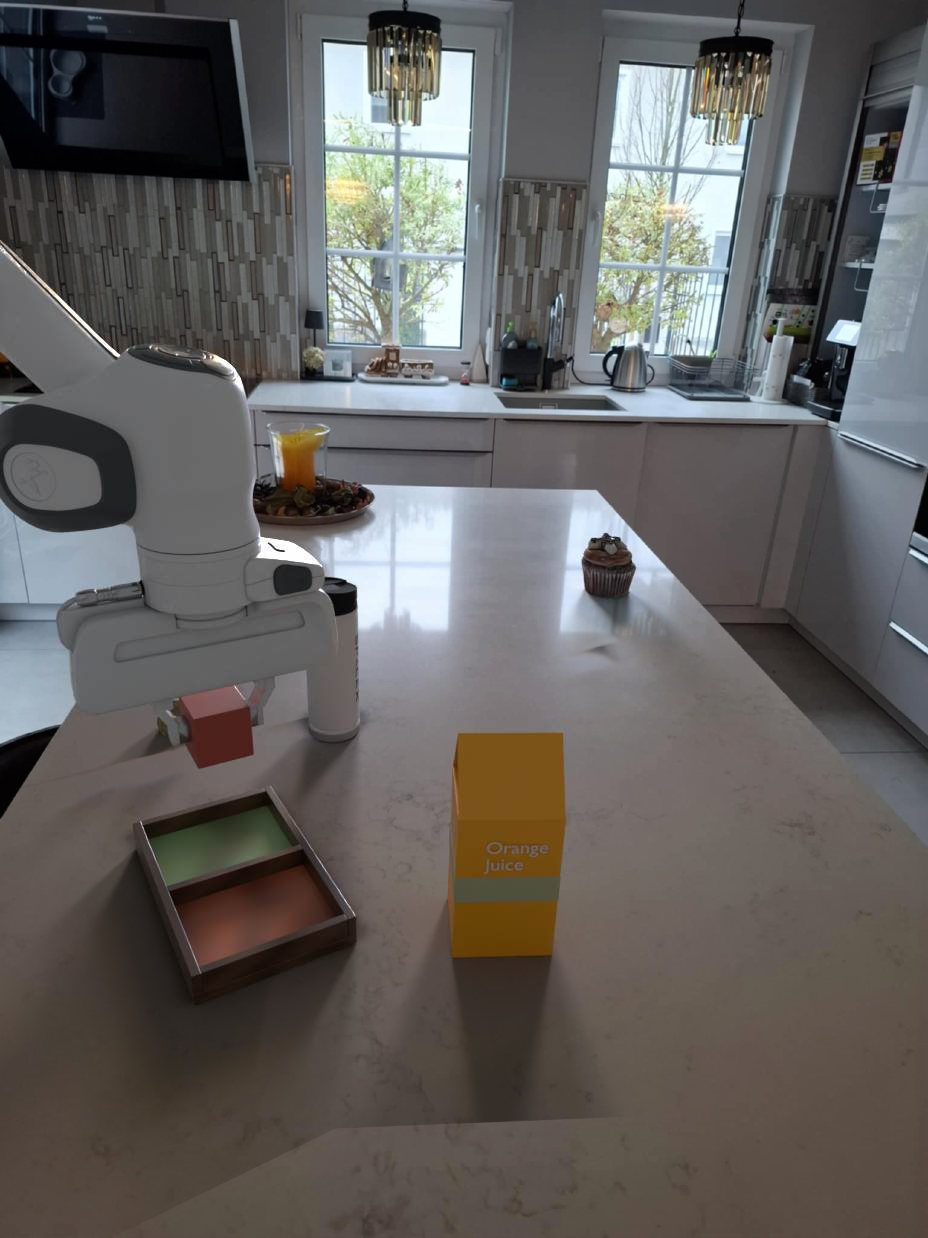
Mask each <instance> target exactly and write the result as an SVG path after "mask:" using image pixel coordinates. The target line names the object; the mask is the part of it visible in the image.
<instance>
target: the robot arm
mask: <svg viewBox="0 0 928 1238" xmlns="http://www.w3.org/2000/svg"><path fill="white" fill-rule="evenodd" d="M0 353H1V354H2V355H3V356H4V357H5V358H6V359H7V360H8V361H9V362H10V363H11V364H13V365H14V367H16V368H17V369H18V370H19V371H20V372H21V373H22V374H23V375H25V377H27V379H28V380H30V382H32V383H33V384H34V385H35V386H36V387H37V388H38V389H39V390H40V391H41V392H43V393H42V394H37V395H36V396H33V397H29V398H26V399H24V400H22V401H20V402H18V403H16V404H15V405H13V406H12V407H11V406H10V407H9V408H7V409H5V410H4V411H3V412H1V413H0V500H1V501H2V503H3V504H4V506H6V508H7V509H8V510H10V512H12V513H13V515H15V516H16V517H18V518H19V519H20V520H22V521H23V522H25V523H26V524H28V525H30V526H32V527H34V528H35V529H39V530H42V531H44V532H49V533H55V534H56V533H59V534H61V533H63V534H64V533H76V532H77V533H78V532H86V531H87V532H88V531H94V530H102V529H107V528H112V527H116V526H119V525H120V526H127V527H129V528H130V529H131V530H132V532H133V534H134V540H135V548H136V556H137V565H138V571H139V577H140V580H138V581H133V582H132V581H131V582H128V583H121V584H116V585H113V586H110V587H109V586H108V587H106V588H105V587H104V588H98V589H97V588H96V589H95V588H88V589H83V590H80V591H77V592H75V594H74V597H71V598H69V599H67V600H66V601H64V602H63V603H62V604H61V605H60V606H59V608H58V610H57V612H56V616H55V622H56V623H55V624H56V628H57V629H56V630H57V634H58V635H57V636H58V639H59V641H60V643H61V645H62V646H63V647H64V648H65V649H67V650H68V663H69V665H68V666H69V678H70V686H71V687H70V688H71V692H72V697H73V699H74V701H75V704H76V706H77V708H79V709H80V710H81V711H83V712H84V713H86V714H87V715H89V716H90V717H91V716H93V717H94V716H95V717H96V716H100V715H104V714H108V713H113V712H118V711H123V710H128V709H133V708H136V707H142V706H145V705H149V704H150V706H151V709H152V710H153V713H154V714H155V715H156V716H157V718H158V717H159V718H160V719H161V720H162V721H163V722H164V723H165V724H166V725H167V727H168V735H167V736H168V738H169V741H170V744H171V745H172V746H173V747H176V746H177V747H178V746H181V745H185V743H189V742H191V741H192V739H191V735H190V733H191V730H190V724H189V722H188V721H187V719H186V717H185V715H181V716H176V717H175V716H174V715H173V714H172V713H171V712H170V711H169V710H172V709H173V699H179V697H183V696H188V695H192V694H197V693H201V692H206V691H210V690H215V689H220V688H224V687H229V686H233V685H235V686H238V685H242V684H247V683H251V682H253V684H254V686H253V689H252V691H251V692H250V695H249V697H248V699H247V700H246V699H245V701H246V702H247V703H248V705H249V706H250V712H251V724H252V728H255V727H258V726H262V725H264V723H265V719H264V708H265V707H266V705H267V703H268V701H269V699H270V697H271V696H272V694H273V692H274V690H275V688H276V679H275V677H279V676H284V675H288V674H293V673H297V672H303V671H306V670H307V669H312V668H316V667H321V666H326V665H329V664H330V663H331V662H332V660H333V659H334V657H335V656H336V654H337V652H338V636H337V626H336V619H335V614H334V609H333V605H332V602H331V600H330V598H329V596H328V595H327V594H326V593H325V592H324V591H323V590H322V589H321V587H322V586H323V584H324V579H325V577H326V575H325V569H324V567H323V566H322V564H321V563H320V562H319V560H317V559H316V557H314V556H313V555H312V554H311V553H309V552H308V551H307V550H305V549H304V548H302V547H301V546H299V545H297V544H296V543H294V542H291V541H287V540H282V539H281V540H280V539H275V538H268V537H263V536H261V528H260V524H259V520H258V518H257V516H256V515H257V514H256V513H255V507H254V502H253V497H254V495H253V494H254V489H255V484H256V479H257V464H256V454H255V453H256V452H255V444H254V434H253V428H252V421H251V414H250V410H249V403H248V398H247V395H246V392H245V388H244V384H243V382H242V379H241V377H240V375H239V373H238V371H237V370H236V369H235V367H233V366H232V365H231V364H230V362H228V361H227V360H225V359H223V358H221V357H220V356H218V355H217V354H215V353H211V352H209V351H206V350H203V349H199V348H195V347H191V346H185V345H180V344H164V343H160V342H159V343H141V344H137V345H133V346H130V347H128V348H127V349H125V350H124V351H123V352H122V353H121V354H120V353H119V352H117V351H116V350H115V349H113V348H112V346H111V345H109V344H108V343H107V342H106V341H105V340H104V339H102V338H101V337H100V336H99V335H98V334H97V333H96V332H95V331H94V330H93V328H91V327H90V326H89V325H88V324H87V323H86V322H85V321H84V320H83V319H82V318H81V317H80V315H79V314H77V313H76V312H75V311H74V309H72V308H71V307H70V305H68V304H67V303H66V302H65V301H64V300H63V299H62V298H61V297H60V296H59V295H58V294H57V293H56V292H55V291H54V290H53V289H52V288H51V287H50V285H48V284H47V283H46V282H45V281H44V280H43V279H42V278H41V277H40V276H39V275H38V274H37V273H36V272H35V271H34V270H33V269H32V268H31V267H30V266H28V265H27V264H26V262H24V261H23V260H22V258H20V257H19V256H18V255H17V254H16V253H15V252H14V251H13V250H12V249H11V248H10V247H9V246H8V245H7V244H6V243H4V242H3V241H2V240H1V239H0ZM75 604H76V605H75Z"/></svg>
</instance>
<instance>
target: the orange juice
mask: <svg viewBox="0 0 928 1238" xmlns="http://www.w3.org/2000/svg"><path fill="white" fill-rule="evenodd" d="M564 752H565V751H564V732H458V733H457V738H456V744H455V751H454V757H453V762H452V763H453V764H452V765H451V766H452V769H451V770H452V771H451V797H450V819H449V820H450V821H449V832H448V833H449V836H448V872H447V873H448V874H447V876H448V877H447V909H448V921H449V922H448V923H449V935H450V947H451V949H450V950H451V958H489V957H491V958H493V957H495V958H496V957H529V956H530V957H534V956H535V957H536V956H537V957H538V956H553V951H554V941H555V932H556V923H557V922H556V921H557V913H558V912H557V910H558V902H559V897H560V889H561V879H562V875H561V871H562V862H563V854H564V842H565V834H566V823H567V813H566V785H565V756H564V755H565V754H564Z"/></svg>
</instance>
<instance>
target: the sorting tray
mask: <svg viewBox="0 0 928 1238" xmlns="http://www.w3.org/2000/svg"><path fill="white" fill-rule="evenodd" d="M132 830H133V840H134V845H135V850H136V852H137V855H138V858H139V860H140V863H141V866H142V868H143V873H144V875H145V877H146V879H147V883H148V885H149V889H150V890H151V892H152V896H153V898H154V900H155V903H156V906H157V909H158V911H159V914H160V917H161V919H162V922H163V925H164V928H165V930H166V933H167V935H168V938H169V941H170V943H171V946H172V949H173V951H174V954H175V957H176V959H177V962H178V965H179V967H180V970H181V973H182V976H183V979H184V981H185V983H186V987H187V988H188V992H189V994H190V997H191V1000H192V1002H193V1005H194V1006H196V1005H199V1004H202V1003H204V1002H207V1001H209V1000H212V999H214V998H217V997H220V996H222V995H225V994H228V993H230V992H233V991H235V990H238V989H241V988H244V987H245V986H248V985H251V984H254V983H257V982H259V981H262V980H265V979H267V978H269V977H272V976H275V975H277V974H280V973H282V972H285V971H288V970H290V969H292V968H295V967H298V966H301V965H304V964H307V963H308V962H311V961H313V960H316V959H319V958H321V957H324V956H326V955H329V954H332V953H335V952H337V951H340V950H342V949H345V948H347V947H350V946H352V945H353V946H354V945H356V944H357V941H358V940H357V916H356V914H355V912H354V911H353V909H352V908H351V906H350V905H349V904H348V901H346V899H345V897H344V895H343V893H341V891H340V889H339V888H338V887H337V885H336V883H335V882H334V880H333V879H332V877H331V876H330V874H329V873H328V871H327V870H326V868H325V867H324V865H323V863H322V862H321V860H320V859H319V857H318V856H317V855H316V853H315V851H314V850H313V848H312V847H311V845H310V844H309V842H308V840H307V839H306V838H305V836H304V834H303V833H302V831H301V830H300V828H299V827H298V826H297V824H296V822H295V820H294V819H293V817H292V816H291V814H290V813H289V811H288V810H287V808H286V807H285V805H284V804H283V802H282V801H281V799H280V798H279V796H278V794H277V793H276V791H275V790H274V789H273V787H272V785H268V786H264V787H261V788H257V789H252V790H249V791H245V792H241V793H238V794H235V795H230V796H228V797H224V798H220V799H216V800H213V801H209V802H205V803H202V804H198V805H195V806H192V807H186V808H184V809H179V810H177V811H173V812H170V813H169V812H168V813H165V814H162V815H158V816H154V817H152V818H151V817H150V818H147V819H144V820H141V821H137V822H133V823H132Z"/></svg>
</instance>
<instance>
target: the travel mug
mask: <svg viewBox="0 0 928 1238" xmlns="http://www.w3.org/2000/svg"><path fill="white" fill-rule="evenodd" d="M321 589H322V590H323V591H324V592H325V593H326V594H327V595H328V596H329V598H330V600H331V602H332V605H333V609H334V614H335V619H336V626H337V636H338V652H337V654H336V656H335V657H334V659H333V660H332V662H331V663H330V664H329V665H326V666H321V667H316V668H312V669H307V670H305V671H306V672H305V673H306V693H307V694H306V695H307V718H308V732H309V734H310V735H311V737H313V738H314V739H315V740H318V741H320V742H325V743H340V742H341V743H342V742H346V741H348V740H350V739H352V738H355V736H357V734H358V733H359V731H360V728H361V724H360V723H361V722H360V721H361V720H360V717H361V715H360V660H359V659H360V652H359V650H360V649H359V647H360V646H359V605H358V587H357V585H356V584H353V583H351V582H348V581H347V579H344V578H342V577H334V576H325V579H324V584H323V586H322V587H321Z"/></svg>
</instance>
